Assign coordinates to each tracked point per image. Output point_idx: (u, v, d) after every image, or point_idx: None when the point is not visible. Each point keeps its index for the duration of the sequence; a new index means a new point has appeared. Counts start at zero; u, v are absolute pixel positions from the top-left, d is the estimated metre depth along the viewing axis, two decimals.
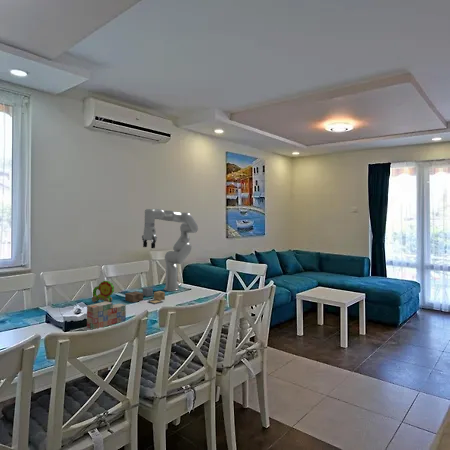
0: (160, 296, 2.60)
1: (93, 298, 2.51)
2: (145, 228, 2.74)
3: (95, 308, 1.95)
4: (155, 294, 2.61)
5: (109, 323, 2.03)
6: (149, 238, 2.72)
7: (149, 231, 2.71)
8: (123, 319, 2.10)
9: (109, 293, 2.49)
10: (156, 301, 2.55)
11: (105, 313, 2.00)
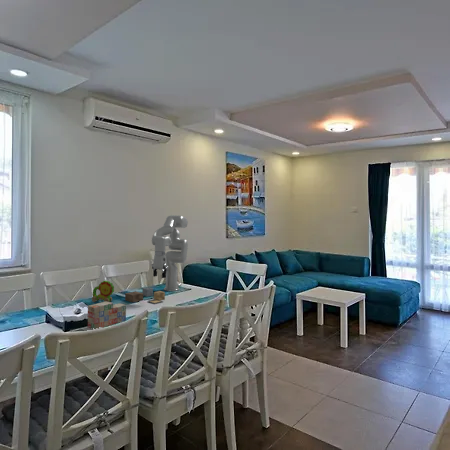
0: (160, 296, 2.60)
1: (93, 298, 2.51)
2: (155, 257, 2.61)
3: (96, 308, 1.95)
4: (155, 294, 2.61)
5: (110, 323, 2.03)
6: (160, 267, 2.58)
7: (160, 260, 2.58)
8: (123, 319, 2.11)
9: (109, 293, 2.49)
10: (156, 301, 2.55)
11: (105, 313, 2.00)
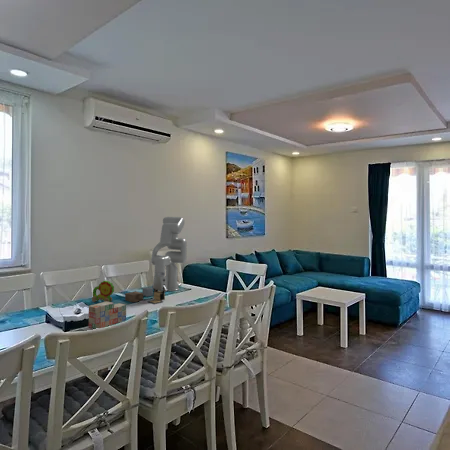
0: None
1: (93, 298, 2.51)
2: (155, 277, 2.62)
3: (97, 308, 1.95)
4: (155, 294, 2.61)
5: (110, 323, 2.03)
6: (159, 288, 2.59)
7: (159, 281, 2.59)
8: (124, 319, 2.11)
9: (109, 293, 2.49)
10: (156, 301, 2.55)
11: (106, 313, 2.00)
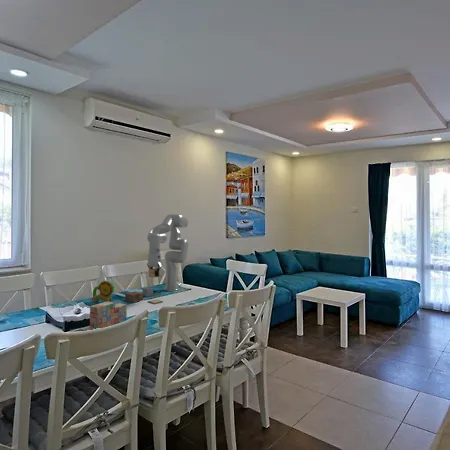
0: None
1: (93, 298, 2.51)
2: (150, 254, 2.60)
3: (99, 308, 1.95)
4: (150, 271, 2.60)
5: (112, 323, 2.03)
6: (154, 265, 2.57)
7: (154, 257, 2.57)
8: (124, 318, 2.12)
9: (109, 293, 2.49)
10: (156, 301, 2.55)
11: (108, 313, 2.01)
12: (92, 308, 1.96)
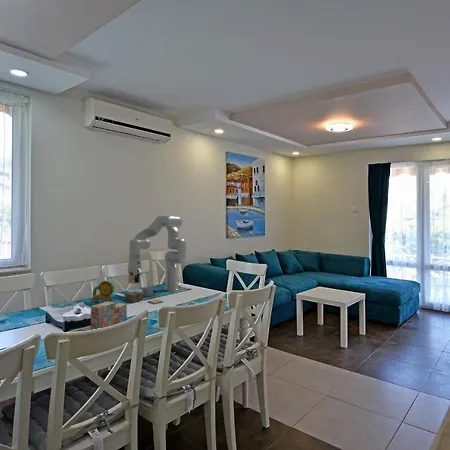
0: None
1: (93, 298, 2.51)
2: (130, 260, 2.57)
3: (100, 308, 1.95)
4: (130, 277, 2.57)
5: (112, 323, 2.04)
6: (134, 271, 2.55)
7: (134, 263, 2.54)
8: (124, 318, 2.12)
9: (109, 293, 2.49)
10: (156, 301, 2.55)
11: (109, 313, 2.01)
12: (93, 308, 1.96)
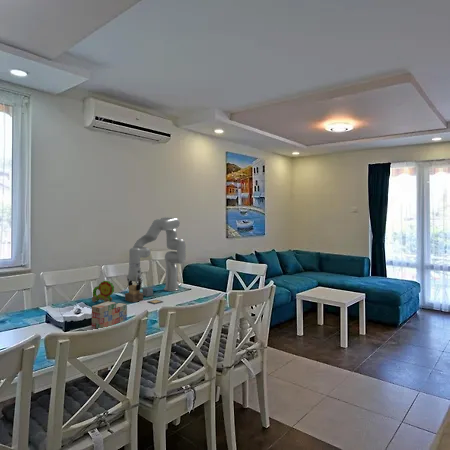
0: (135, 290, 2.56)
1: (93, 298, 2.51)
2: (130, 268, 2.57)
3: (101, 308, 1.95)
4: (130, 288, 2.57)
5: (113, 323, 2.04)
6: (134, 279, 2.55)
7: (134, 272, 2.55)
8: (125, 318, 2.12)
9: (109, 293, 2.49)
10: (156, 301, 2.55)
11: (109, 313, 2.01)
12: (94, 308, 1.96)
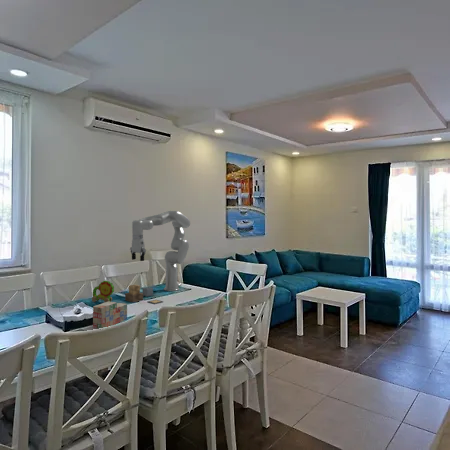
0: (135, 290, 2.56)
1: (93, 298, 2.51)
2: (133, 240, 2.65)
3: (103, 308, 1.95)
4: (130, 288, 2.57)
5: (114, 322, 2.04)
6: (138, 251, 2.63)
7: (137, 243, 2.63)
8: (125, 318, 2.13)
9: (109, 293, 2.49)
10: (156, 301, 2.55)
11: (111, 313, 2.01)
12: (95, 308, 1.96)
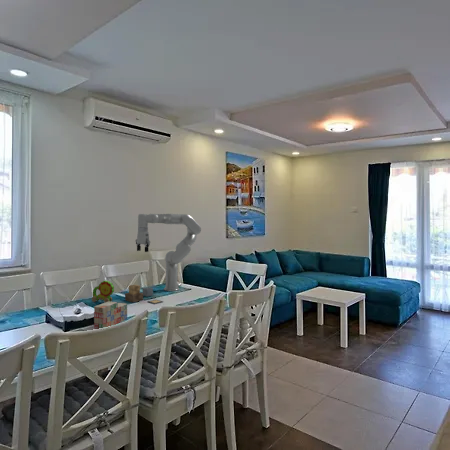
0: (135, 290, 2.56)
1: (93, 298, 2.51)
2: (139, 232, 2.83)
3: (104, 308, 1.96)
4: (130, 288, 2.57)
5: (115, 322, 2.04)
6: (142, 242, 2.80)
7: (142, 235, 2.80)
8: (125, 318, 2.13)
9: (109, 293, 2.49)
10: (156, 301, 2.55)
11: (112, 313, 2.01)
12: (97, 308, 1.96)
